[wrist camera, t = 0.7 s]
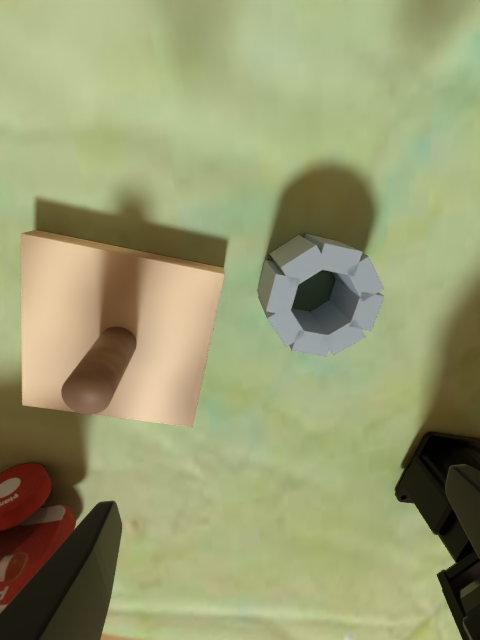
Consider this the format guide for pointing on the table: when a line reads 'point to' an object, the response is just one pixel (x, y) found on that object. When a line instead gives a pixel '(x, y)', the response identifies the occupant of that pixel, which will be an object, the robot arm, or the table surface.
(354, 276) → the ring
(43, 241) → the pegboard
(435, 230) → the table surface
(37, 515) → the toy fire truck
